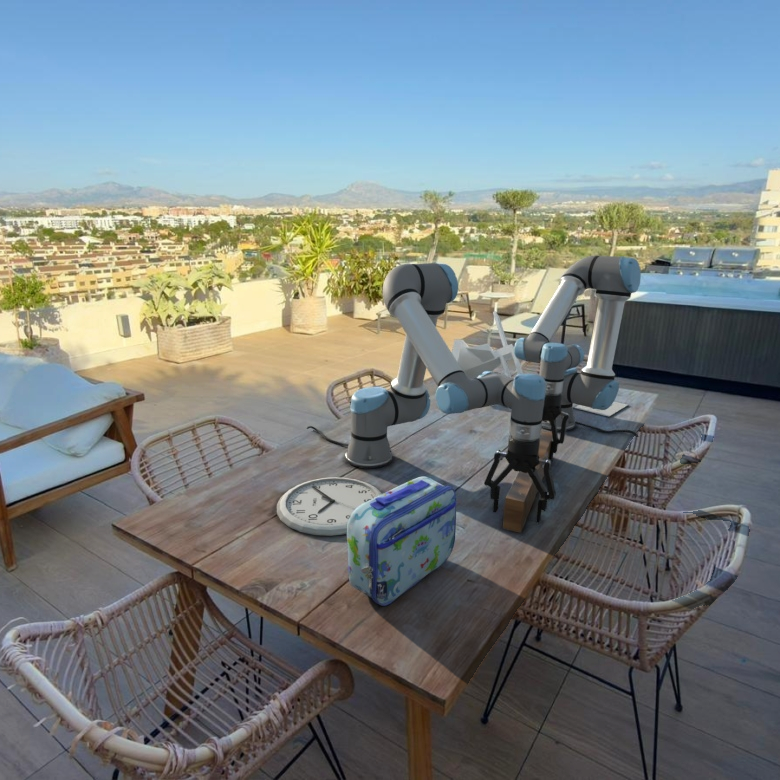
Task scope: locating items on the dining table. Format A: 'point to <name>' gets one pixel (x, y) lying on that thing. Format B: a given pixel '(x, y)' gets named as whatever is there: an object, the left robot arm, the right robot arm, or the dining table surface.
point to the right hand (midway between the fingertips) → (542, 459)
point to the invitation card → (608, 412)
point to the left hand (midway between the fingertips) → (516, 515)
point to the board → (524, 490)
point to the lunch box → (400, 538)
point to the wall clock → (324, 504)
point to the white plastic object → (485, 355)
